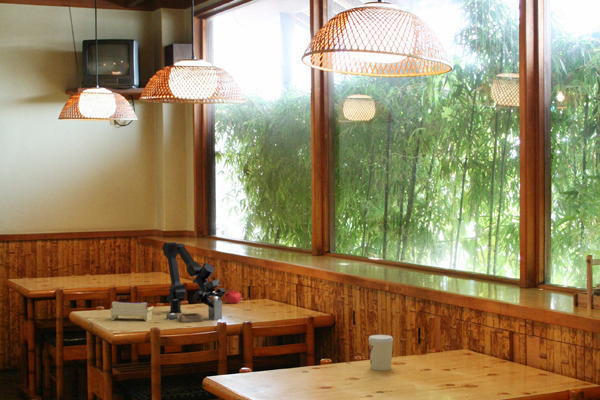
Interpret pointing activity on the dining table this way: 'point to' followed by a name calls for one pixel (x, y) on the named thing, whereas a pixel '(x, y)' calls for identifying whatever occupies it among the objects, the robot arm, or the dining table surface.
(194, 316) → the chassis bay
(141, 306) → the toy sofa
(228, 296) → the pomegranate
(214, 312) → the grey square bottle
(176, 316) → the rubber wheel
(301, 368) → the dining table surface
